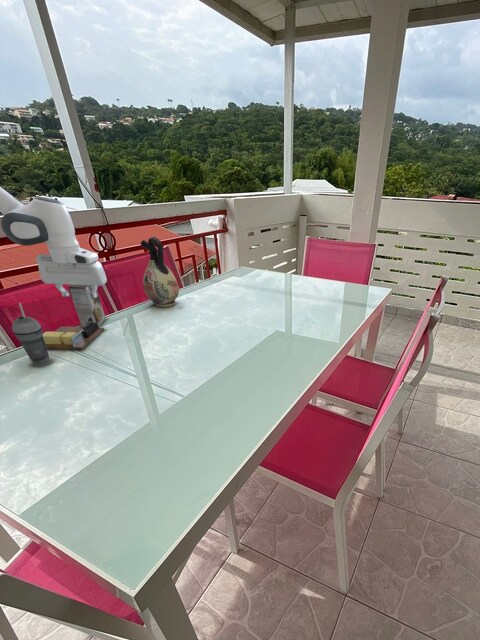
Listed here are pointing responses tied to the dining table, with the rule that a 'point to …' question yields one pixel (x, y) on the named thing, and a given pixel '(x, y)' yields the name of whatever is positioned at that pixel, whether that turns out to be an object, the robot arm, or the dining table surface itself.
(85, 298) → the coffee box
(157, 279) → the ceramic jug
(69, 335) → the butter slice
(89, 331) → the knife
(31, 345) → the beverage cup
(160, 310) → the dining table surface
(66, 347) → the cutting board
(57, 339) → the butter block
